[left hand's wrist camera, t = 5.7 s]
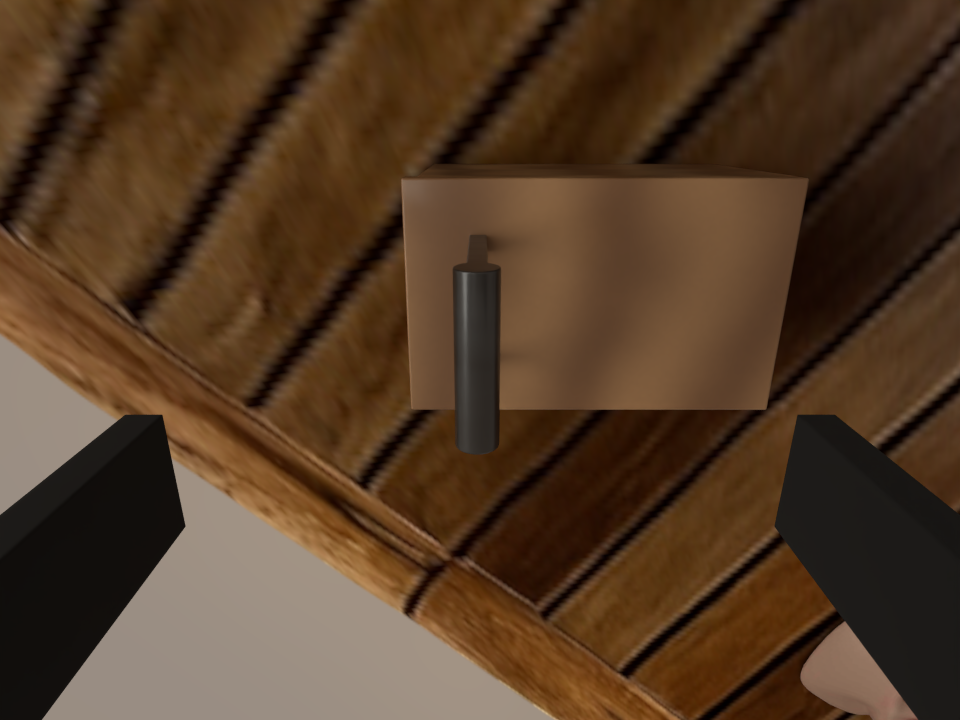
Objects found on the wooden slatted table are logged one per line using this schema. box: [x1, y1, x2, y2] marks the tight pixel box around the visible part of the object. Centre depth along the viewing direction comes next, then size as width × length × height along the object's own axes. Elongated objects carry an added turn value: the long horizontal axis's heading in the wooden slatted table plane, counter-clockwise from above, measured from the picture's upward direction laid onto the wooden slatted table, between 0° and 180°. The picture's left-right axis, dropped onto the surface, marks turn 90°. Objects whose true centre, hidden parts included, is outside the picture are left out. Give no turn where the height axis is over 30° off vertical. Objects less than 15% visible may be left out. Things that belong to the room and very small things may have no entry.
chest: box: [417, 164, 797, 177], centre depth 30 cm, size 15×10×10 cm, turn 90°
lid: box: [401, 177, 809, 454], centre depth 22 cm, size 16×10×8 cm, turn 90°
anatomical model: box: [800, 621, 918, 720], centre depth 44 cm, size 13×4×12 cm
